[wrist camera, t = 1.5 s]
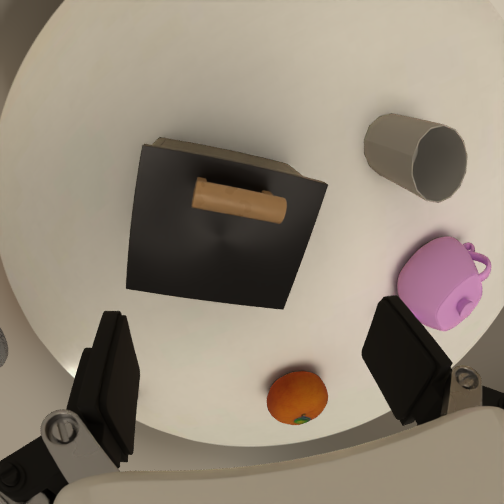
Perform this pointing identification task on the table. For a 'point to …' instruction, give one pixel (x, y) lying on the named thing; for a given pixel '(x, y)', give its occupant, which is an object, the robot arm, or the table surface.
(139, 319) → the table surface
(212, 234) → the box lid
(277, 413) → the fruit
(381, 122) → the faceted grey tumbler
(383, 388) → the robot arm
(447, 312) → the teapot
